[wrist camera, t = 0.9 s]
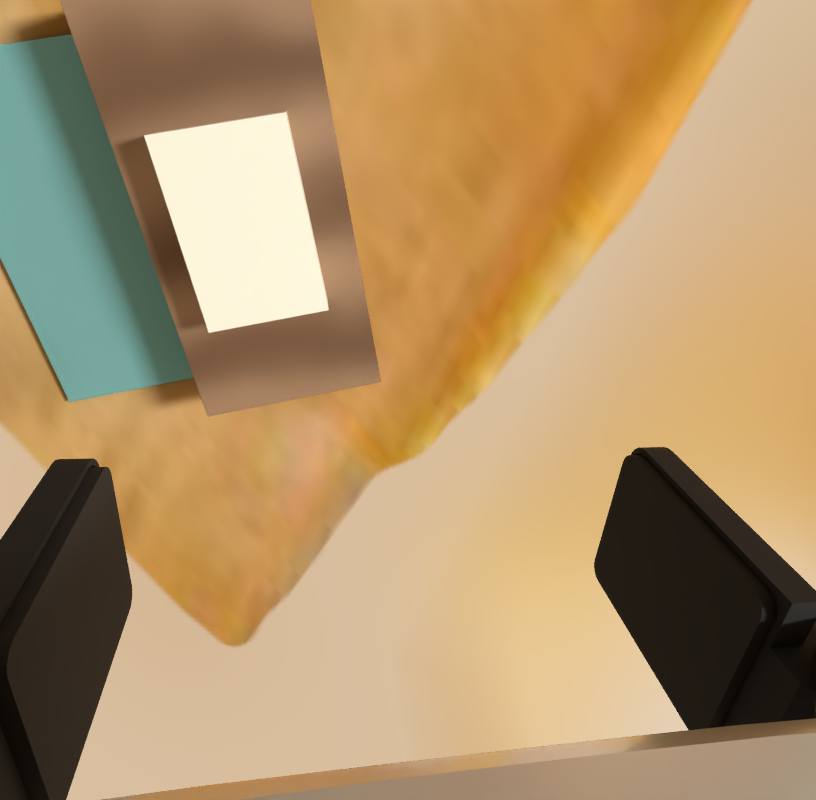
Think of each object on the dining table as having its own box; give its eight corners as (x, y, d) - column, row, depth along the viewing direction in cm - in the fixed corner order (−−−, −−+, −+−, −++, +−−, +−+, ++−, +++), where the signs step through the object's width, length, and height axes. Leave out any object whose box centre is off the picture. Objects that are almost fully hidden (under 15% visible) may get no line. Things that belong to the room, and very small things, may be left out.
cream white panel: (154, 132, 26) (144, 135, 25) (286, 111, 27) (285, 112, 25) (214, 319, 31) (208, 332, 29) (327, 298, 31) (328, 309, 29)
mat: (-90, 59, 27) (-96, 58, 27) (97, 31, 28) (94, 30, 27) (71, 399, 36) (69, 401, 35) (212, 371, 36) (211, 374, 36)
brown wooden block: (88, 6, 27) (57, -7, 24) (302, -26, 28) (302, -43, 24) (216, 385, 37) (207, 416, 33) (373, 355, 37) (381, 382, 34)
